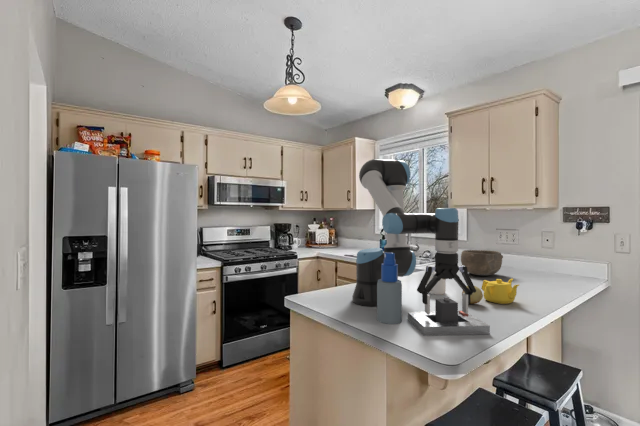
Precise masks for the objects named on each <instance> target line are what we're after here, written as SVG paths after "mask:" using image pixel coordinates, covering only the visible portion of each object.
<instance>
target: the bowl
mask: <svg viewBox="0 0 640 426" xmlns="http://www.w3.org/2000/svg"><path fill="white" fill-rule="evenodd" d="M503 255H504V254H503ZM503 255H502V253H501V252H500V251H497V250H488V249H487V250H486V249H484V250H482V249H467V250H466V249H465V250H462V251H461V254H460V262H461V265H463V266H466V267H467V272H468V274H471V275H473V276H475V275H476V276H491V275H492V276H493V275H495V274H497V273H498V272H499V271H500V270H501V268H502V265H503V259H504V256H503Z"/></svg>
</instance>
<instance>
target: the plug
mask: <svg viewBox="0 0 640 426" xmlns="http://www.w3.org/2000/svg"><path fill="white" fill-rule="evenodd" d="M434 300H435V303H434V304H435V309H434V312H435V323H439V322H458V311H459V302H457V301H456V300H453V299H452V298H450V296H443V298H435V299H434Z"/></svg>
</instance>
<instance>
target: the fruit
mask: <svg viewBox="0 0 640 426" xmlns="http://www.w3.org/2000/svg"><path fill="white" fill-rule="evenodd" d="M466 286H467V285H466ZM474 287H475V289H476V292H475V293H474V292H473V293H472V295H470V303H469V304H471V305H475V304H479V303H480V302H481V301H482V299H483V298H484V293H483V292H482V291H483V290H482V289H481V288H479V287H478V286H476V285H474ZM467 288H468V286H467ZM468 289H469V288H468ZM462 293H465V292H464V291H463V290H462V292H461V294H462Z"/></svg>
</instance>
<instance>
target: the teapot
mask: <svg viewBox="0 0 640 426" xmlns="http://www.w3.org/2000/svg"><path fill="white" fill-rule="evenodd" d="M513 280H514V278H510V279H508V281H507V282H506V281H503V279H501V278H496V279H495V280H492V281H489V280H486V279H484V280H483V281H482V284H481V288H480V290H481V291H483V298H484V299H485V301H487V302H490V303H494V304H498V305H499V304H501V305H505V304H506V305H507V304H508V305H509V304H511V303H514V301H515V299H516V296H517V288H518V287H519V286H520V284H515V285H512V282H513Z"/></svg>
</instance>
